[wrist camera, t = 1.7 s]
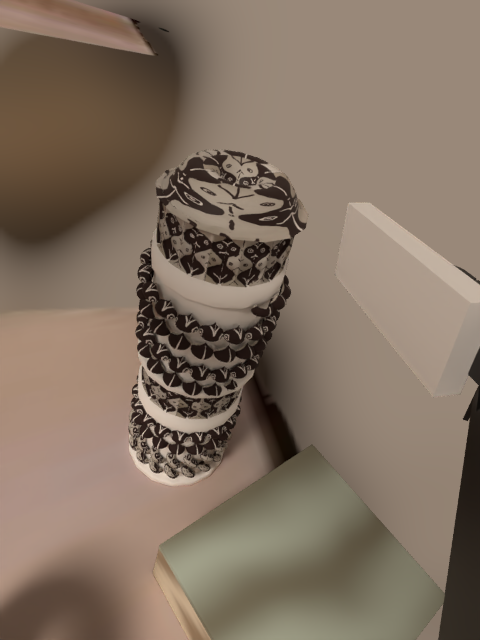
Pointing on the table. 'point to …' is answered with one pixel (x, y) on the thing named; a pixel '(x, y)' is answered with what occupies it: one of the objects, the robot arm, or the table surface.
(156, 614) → the table surface
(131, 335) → the table surface
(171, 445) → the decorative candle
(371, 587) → the riser
